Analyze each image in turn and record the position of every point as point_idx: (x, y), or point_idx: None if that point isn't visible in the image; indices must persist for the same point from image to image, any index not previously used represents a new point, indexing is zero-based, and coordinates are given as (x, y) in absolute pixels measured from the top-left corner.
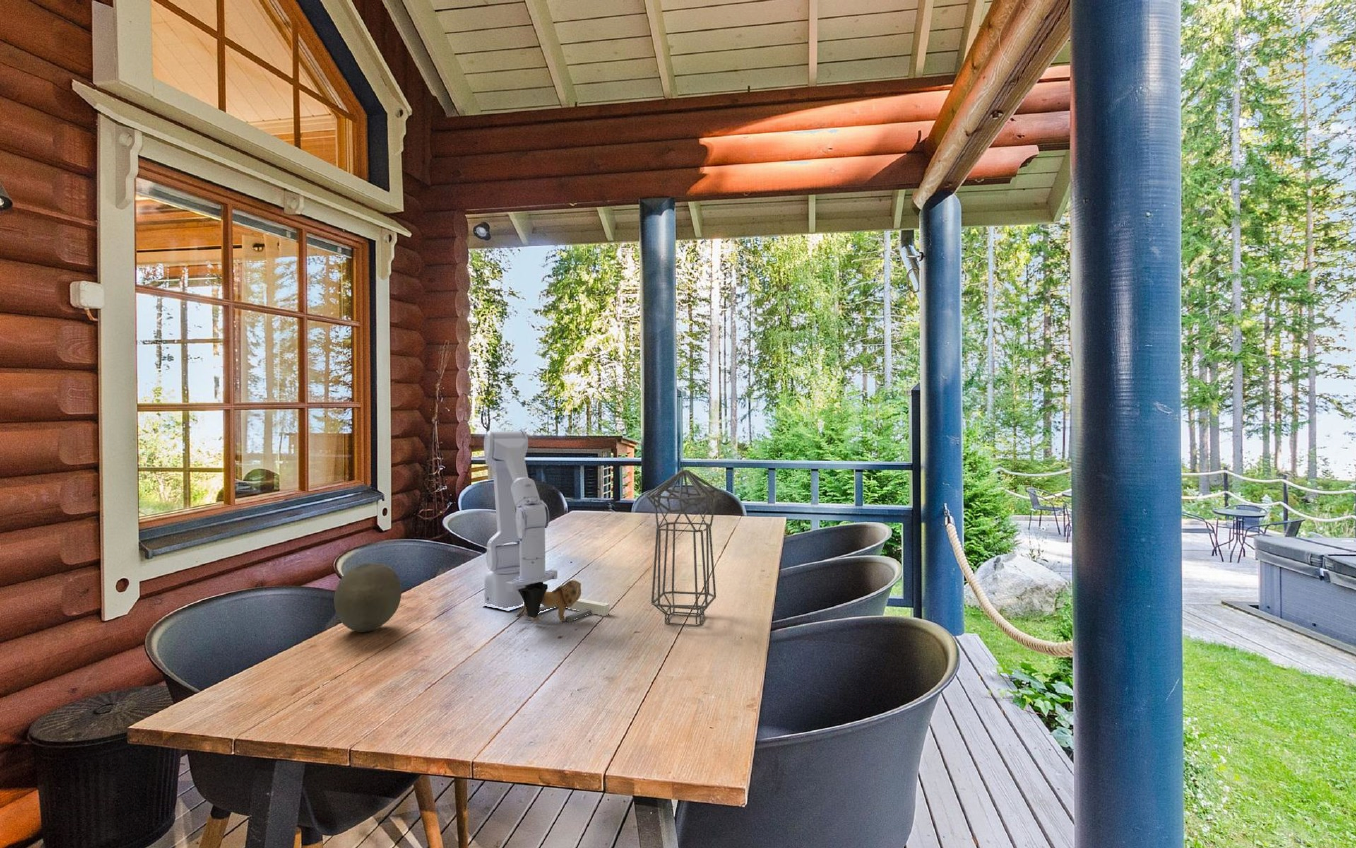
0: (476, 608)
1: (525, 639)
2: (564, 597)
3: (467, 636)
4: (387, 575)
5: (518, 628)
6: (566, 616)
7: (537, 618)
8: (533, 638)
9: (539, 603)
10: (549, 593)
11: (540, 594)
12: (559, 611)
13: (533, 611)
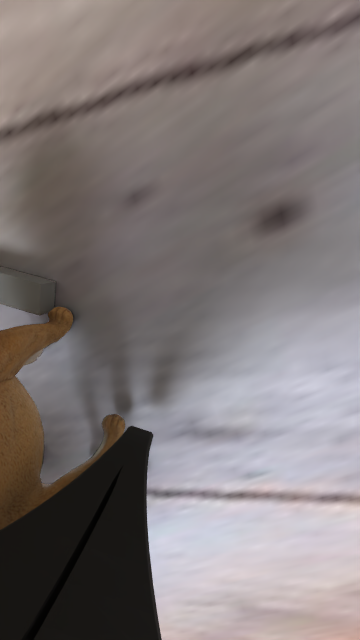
0: None
1: (349, 371)
2: None
3: (342, 578)
4: None
5: (205, 453)
6: (33, 313)
7: (115, 423)
8: (327, 342)
9: (98, 479)
10: None
11: (61, 555)
12: (38, 349)
13: (146, 463)
